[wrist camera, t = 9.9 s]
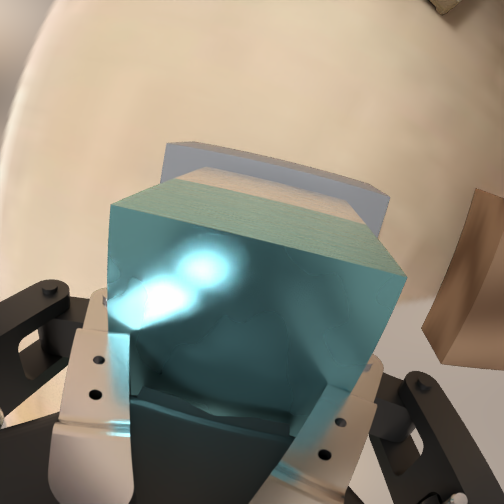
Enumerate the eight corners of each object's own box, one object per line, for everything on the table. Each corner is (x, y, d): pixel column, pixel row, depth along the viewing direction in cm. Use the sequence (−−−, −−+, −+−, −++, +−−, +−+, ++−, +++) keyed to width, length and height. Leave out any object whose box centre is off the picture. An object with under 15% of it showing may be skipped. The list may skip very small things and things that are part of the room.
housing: (205, 166, 12) (110, 204, 5) (345, 200, 12) (407, 277, 5) (178, 350, 15) (123, 461, 9) (285, 377, 15) (276, 501, 8)
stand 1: (192, 141, 17) (166, 143, 13) (368, 183, 17) (390, 197, 13) (169, 297, 20) (146, 330, 17) (318, 334, 20) (322, 374, 16)
